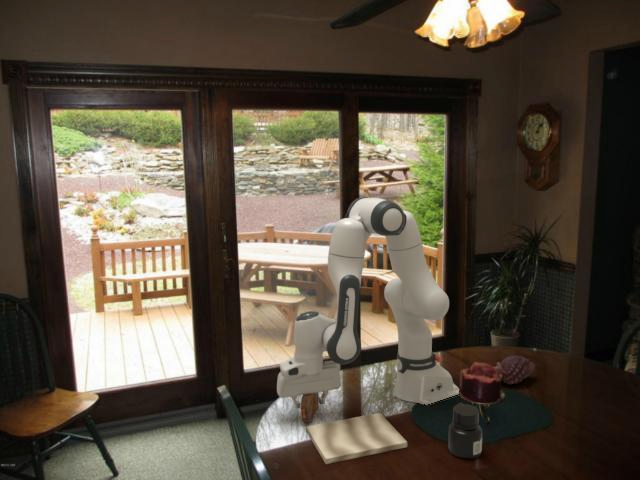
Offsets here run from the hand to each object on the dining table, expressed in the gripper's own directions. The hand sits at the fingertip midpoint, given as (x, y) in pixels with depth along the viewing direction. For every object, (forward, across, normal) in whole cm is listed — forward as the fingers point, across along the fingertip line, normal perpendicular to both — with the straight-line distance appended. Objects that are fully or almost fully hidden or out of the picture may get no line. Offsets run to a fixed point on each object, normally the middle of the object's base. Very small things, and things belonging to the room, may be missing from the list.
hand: (309, 405), depth 165 cm
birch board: (+3, -8, +18) cm, 20 cm away
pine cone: (+3, -75, +3) cm, 75 cm away
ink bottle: (+3, -34, +34) cm, 48 cm away
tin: (+4, 0, 0) cm, 4 cm away
